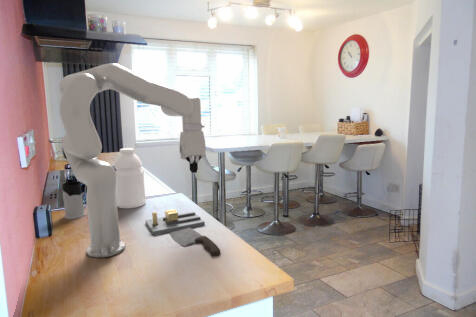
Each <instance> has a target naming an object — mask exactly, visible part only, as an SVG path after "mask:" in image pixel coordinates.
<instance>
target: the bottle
mask: <svg viewBox="0 0 476 317" xmlns="http://www.w3.org/2000/svg"><path fill="white" fill-rule="evenodd" d="M142 166H143V162H142V160H141V159H140V157H139V156H138V155H137V154H136V153H135V148H133V147H124V148H120V149H119V155H118V156H117V157H116V159H115V161H114V164H113V168H114V169H115V171H116V175H117V184H116V201H117V208H120V209H135V208H140V207H142V206H144V205H145V204H146V190H145V189H146V188H145V177H144V176H145V174H144V170H143V169H142V168H141V167H142Z"/></svg>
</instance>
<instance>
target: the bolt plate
mask: <svg viewBox="0 0 476 317" xmlns="http://www.w3.org/2000/svg"><path fill="white" fill-rule="evenodd" d="M151 214H152V217H151V219H146V220H145V225H146V226H147V228H148V230H149V231H150V233H151V234H152V235H153V236H158V235H161V234H167V233H169V232H171V231H174V230H178V229H182V228H186V227H189V228H191V229H193V228H197V227H203V226H205V225H206V224H205V223H206V222H205V220H203V219H202V218H201V216H198V215H197V214H196V212H194V211H191V212H185V213H180V214H179V213H178V221H173V222H167V221H166V219H165V216H163V217H158V212H157V211H153V212H152V213H151Z"/></svg>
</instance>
